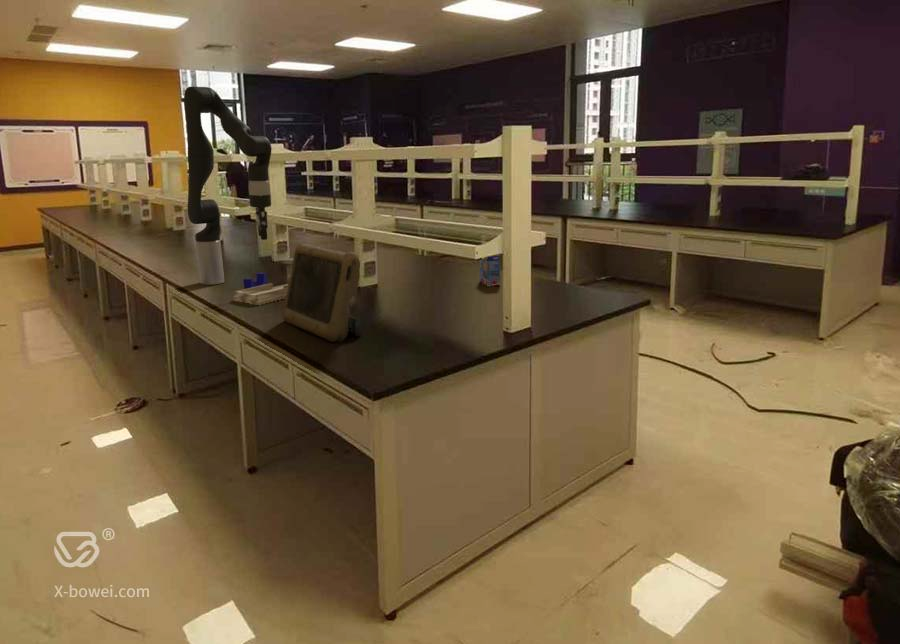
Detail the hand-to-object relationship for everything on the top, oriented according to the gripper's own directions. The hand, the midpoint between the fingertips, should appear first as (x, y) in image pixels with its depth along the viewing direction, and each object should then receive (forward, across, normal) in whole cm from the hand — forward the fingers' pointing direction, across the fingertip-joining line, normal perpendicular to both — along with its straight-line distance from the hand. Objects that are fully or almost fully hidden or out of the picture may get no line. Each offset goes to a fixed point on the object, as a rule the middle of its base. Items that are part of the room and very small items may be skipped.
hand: (263, 237), depth 239 cm
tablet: (+20, +57, +10) cm, 62 cm away
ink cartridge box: (+20, +19, +84) cm, 88 cm away
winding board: (+21, +7, +2) cm, 22 cm away
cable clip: (+21, -5, -4) cm, 22 cm away
